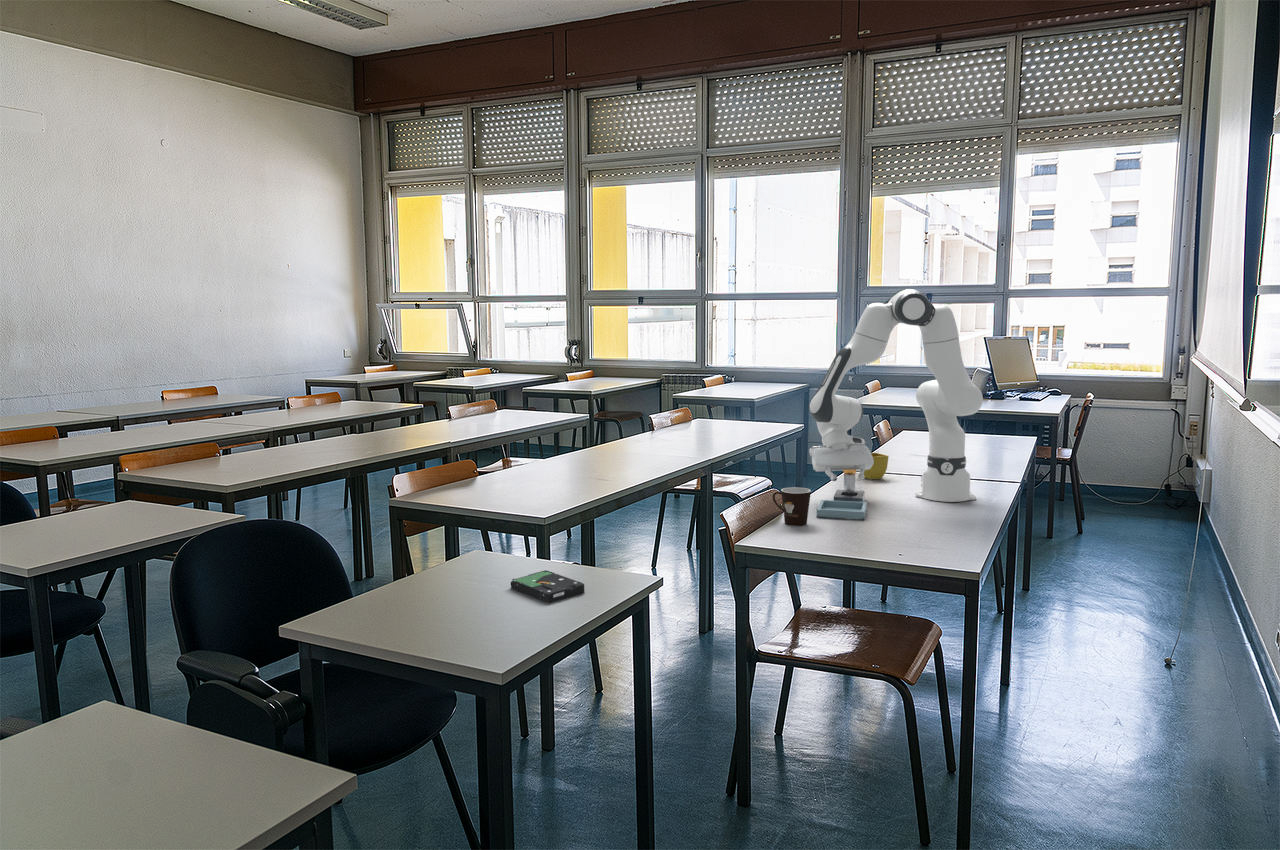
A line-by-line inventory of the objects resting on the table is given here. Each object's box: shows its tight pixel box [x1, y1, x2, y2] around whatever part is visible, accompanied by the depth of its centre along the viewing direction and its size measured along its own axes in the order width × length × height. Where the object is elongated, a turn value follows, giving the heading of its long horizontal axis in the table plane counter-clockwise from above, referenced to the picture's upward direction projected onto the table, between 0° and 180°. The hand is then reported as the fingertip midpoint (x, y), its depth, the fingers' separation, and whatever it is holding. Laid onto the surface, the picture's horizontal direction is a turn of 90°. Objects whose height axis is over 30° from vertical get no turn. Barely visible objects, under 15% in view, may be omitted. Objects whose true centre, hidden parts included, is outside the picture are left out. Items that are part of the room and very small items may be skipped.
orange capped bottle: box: [843, 469, 857, 496], centre depth 276 cm, size 4×4×11 cm
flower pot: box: [859, 452, 889, 480], centre depth 317 cm, size 9×9×9 cm
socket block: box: [833, 489, 866, 502], centre depth 276 cm, size 12×9×3 cm
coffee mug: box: [772, 487, 812, 527], centre depth 251 cm, size 12×9×10 cm
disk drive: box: [510, 570, 585, 604], centre depth 192 cm, size 10×3×15 cm
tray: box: [816, 499, 868, 520], centre depth 261 cm, size 14×14×2 cm
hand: (848, 479), depth 276 cm, fingers open, 8 cm apart
